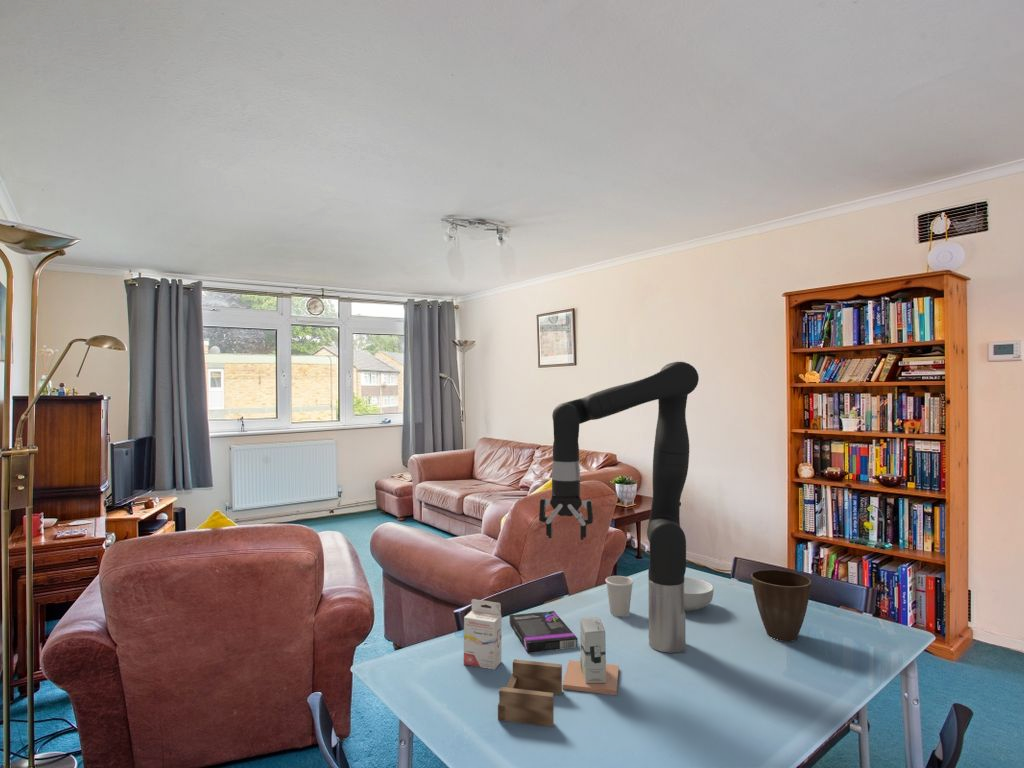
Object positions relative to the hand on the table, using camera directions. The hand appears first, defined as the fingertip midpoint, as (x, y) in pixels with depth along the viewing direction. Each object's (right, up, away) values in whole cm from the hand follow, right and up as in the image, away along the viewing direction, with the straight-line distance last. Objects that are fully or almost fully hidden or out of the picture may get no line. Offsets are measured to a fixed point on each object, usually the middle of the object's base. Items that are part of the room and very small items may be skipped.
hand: (566, 538), depth 151 cm
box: (-6, -29, +5) cm, 30 cm away
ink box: (+4, -27, -19) cm, 33 cm away
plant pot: (+60, -28, +4) cm, 66 cm away
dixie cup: (+18, -29, +21) cm, 40 cm away
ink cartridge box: (-22, -28, -11) cm, 37 cm away
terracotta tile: (+4, -28, -19) cm, 34 cm away
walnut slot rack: (-11, -28, -30) cm, 42 cm away
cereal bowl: (+40, -29, +26) cm, 56 cm away
